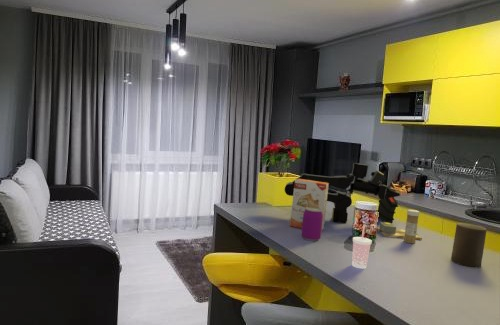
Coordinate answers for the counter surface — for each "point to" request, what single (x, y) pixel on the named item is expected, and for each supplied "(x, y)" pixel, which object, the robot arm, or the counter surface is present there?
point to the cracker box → (308, 199)
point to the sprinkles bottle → (411, 226)
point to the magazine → (387, 209)
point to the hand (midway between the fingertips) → (397, 193)
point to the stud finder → (387, 227)
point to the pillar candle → (468, 245)
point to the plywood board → (397, 234)
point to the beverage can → (312, 224)
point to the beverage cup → (360, 251)
